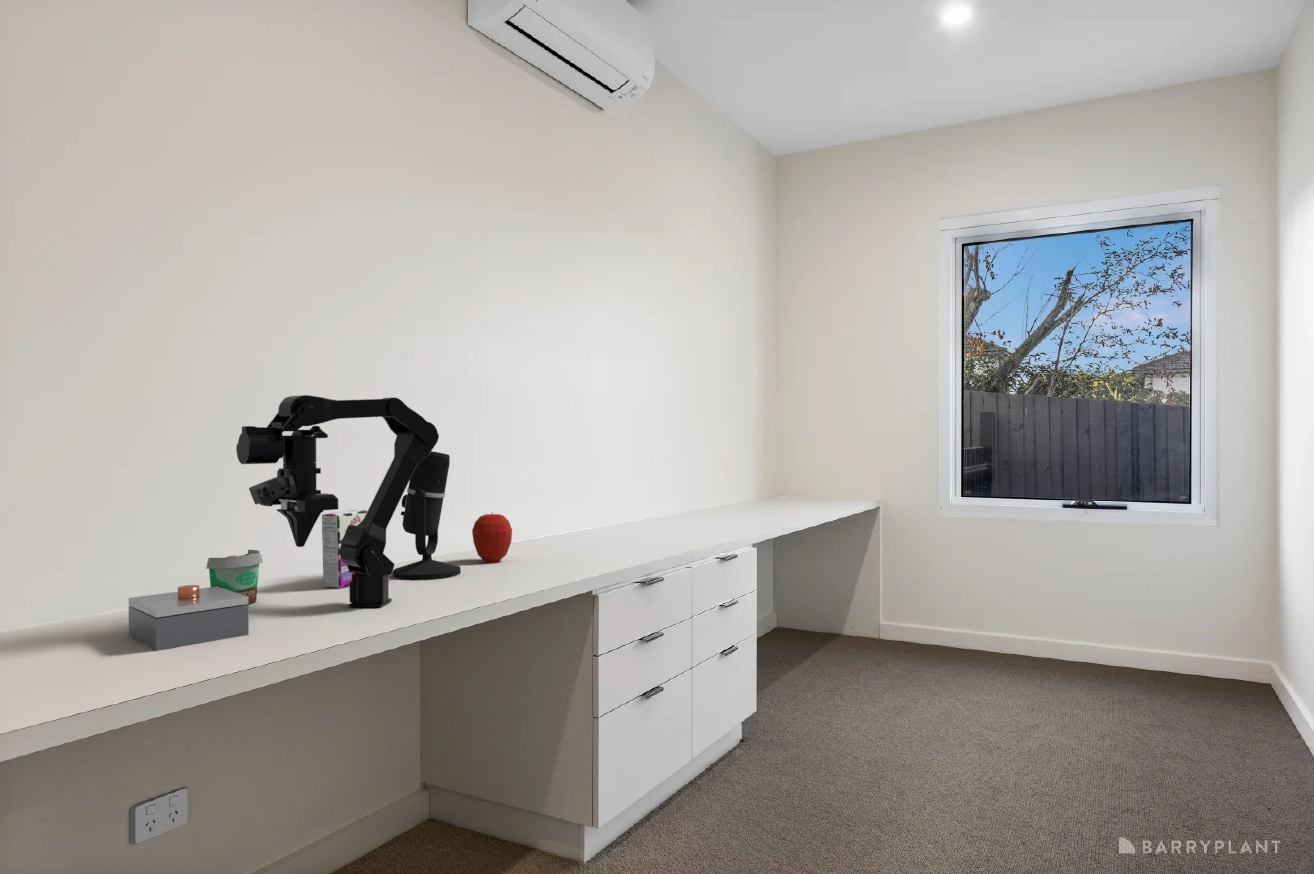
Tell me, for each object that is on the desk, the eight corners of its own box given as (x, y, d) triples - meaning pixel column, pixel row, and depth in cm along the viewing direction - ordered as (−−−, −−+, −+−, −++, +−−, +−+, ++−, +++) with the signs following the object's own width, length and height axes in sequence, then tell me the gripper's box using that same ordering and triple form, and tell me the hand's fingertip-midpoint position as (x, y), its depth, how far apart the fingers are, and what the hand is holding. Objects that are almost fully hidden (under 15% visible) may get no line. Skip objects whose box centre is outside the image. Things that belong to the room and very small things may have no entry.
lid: (217, 592, 149) (217, 576, 149) (248, 603, 140) (248, 586, 140) (128, 604, 139) (128, 587, 139) (155, 617, 130) (155, 598, 129)
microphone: (405, 568, 207) (405, 449, 207) (467, 568, 206) (467, 449, 206) (382, 579, 191) (382, 450, 191) (450, 580, 191) (449, 450, 190)
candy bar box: (354, 578, 192) (354, 508, 192) (372, 580, 191) (372, 509, 191) (320, 587, 182) (320, 513, 182) (339, 589, 180) (339, 514, 180)
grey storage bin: (217, 621, 149) (217, 593, 149) (248, 634, 140) (248, 604, 140) (128, 635, 139) (128, 606, 139) (155, 650, 130) (155, 618, 130)
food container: (234, 610, 158) (234, 558, 158) (206, 609, 159) (206, 558, 159) (276, 598, 170) (276, 549, 170) (250, 597, 172) (249, 549, 171)
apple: (519, 559, 221) (519, 507, 221) (497, 565, 212) (497, 511, 211) (487, 557, 225) (487, 506, 225) (464, 562, 216) (464, 509, 216)
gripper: (234, 462, 154) (234, 546, 154) (277, 465, 141) (277, 556, 141) (294, 461, 162) (294, 540, 162) (339, 463, 149) (339, 549, 149)
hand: (300, 546), depth 153 cm, fingers closed
